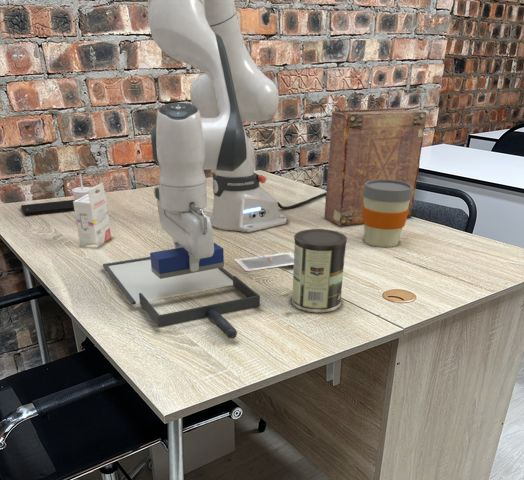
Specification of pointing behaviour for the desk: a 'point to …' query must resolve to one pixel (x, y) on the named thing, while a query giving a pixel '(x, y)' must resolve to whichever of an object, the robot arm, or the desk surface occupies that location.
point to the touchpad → (266, 261)
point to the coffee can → (318, 270)
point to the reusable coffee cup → (385, 211)
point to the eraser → (182, 262)
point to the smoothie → (80, 190)
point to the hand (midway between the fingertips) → (187, 264)
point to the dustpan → (207, 310)
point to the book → (370, 157)
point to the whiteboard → (162, 280)
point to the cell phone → (48, 207)
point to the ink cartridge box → (92, 217)
